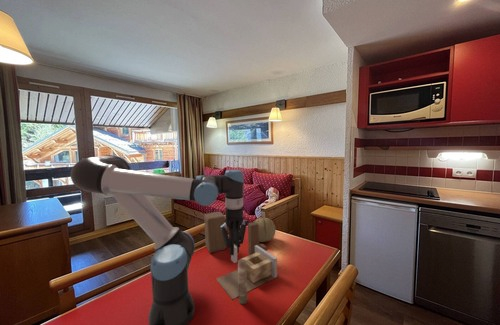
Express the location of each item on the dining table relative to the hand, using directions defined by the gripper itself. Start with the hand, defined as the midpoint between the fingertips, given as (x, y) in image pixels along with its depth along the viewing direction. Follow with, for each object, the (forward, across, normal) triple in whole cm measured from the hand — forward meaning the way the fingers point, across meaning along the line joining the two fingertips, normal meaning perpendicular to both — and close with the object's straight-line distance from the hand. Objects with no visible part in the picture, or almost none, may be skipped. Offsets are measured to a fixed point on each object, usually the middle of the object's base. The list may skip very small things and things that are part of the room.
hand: (234, 260), depth 88 cm
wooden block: (+10, +22, +12) cm, 27 cm away
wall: (+10, +17, 0) cm, 20 cm away
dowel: (+10, -2, -10) cm, 15 cm away
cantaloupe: (+10, +35, +24) cm, 43 cm away
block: (+11, +7, +34) cm, 36 cm away
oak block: (+10, +11, 0) cm, 15 cm away
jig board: (+10, +7, 0) cm, 12 cm away
